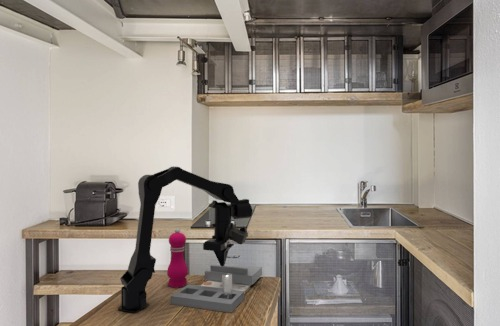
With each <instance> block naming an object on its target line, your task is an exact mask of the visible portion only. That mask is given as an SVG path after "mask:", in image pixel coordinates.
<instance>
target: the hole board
mask: <svg viewBox="0 0 500 326" xmlns="http://www.w3.org/2000/svg"><path fill="white" fill-rule="evenodd" d="M244 300H245V292H244V291H239V290H232V299H223V298H222V288H215V287H207V286H201V285H197V284H189V283H188V284H186V285H185V286H183V287H181V288H180V289H179V290H177V291H175V292H174V293H173V294H171V295H170V305H174V306H180V307H182V306H183V307H189V308H195V309H203V310H208V311H215V312H222V313H230V314H231V313H232V312H233V311H234V310H235V309H236V308H237V307H238V306H239V305H241V303H242V302H243V301H244Z"/></svg>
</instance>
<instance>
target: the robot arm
mask: <svg viewBox="0 0 500 326" xmlns="http://www.w3.org/2000/svg"><path fill="white" fill-rule="evenodd" d="M174 181H178V182H180V183H183V184H185V185H189V186H191V187H194V188H196V189H198V190H201V191H203V192H205V193H206V194H207V195H209V196H210V197H213V198H214V199H215V200H212V202H211V203H210V204H209V205H208V208H211V209H214V222H213V223H212V225H211V227H212V228H214V235H213V234H212V236H211V238H210V239H207V240H205V241H204V242H203V244H202V247H203V248H202V250H203V251H211V252H213V253H214V255H215V257H216V259H217V260H218V263H220V265H221V266H224V265H225V263H226V261H227V257H228V254H229V251H230V249H231V248H232V247H233V246H234V245H235V244H234V243H231V240H232V241H233V242H235V243H236V244H238V245H242V244H245V243H246V241H247V238H248V237H249V232H248V228H247V227H245V226H242V227H240V229H239V227H238V228H236V227H235V224H234V222H232V218H233V219H234V220H242V219H243V220H244V219H250V218H251V217H252V215H253V207H252V205H251V204H250V199H248V198H244V199H239V197H238V196H237V195H236V194H235V190H234V187H233V185H231V184H229V183H223V182H218V181H212V180H210V179H207V178H205V177H203V176H200V175H197V174H195V173H193V172H191V171H187V170H186V169H183V168H182V167H179V166H174V165H173V166H170V167H168V168H166V169H164V170H160V171H158V172H156V173H154V174H144V175H143V176H141V177H140V178H139V180H138V182H137V186H138V187H137V189H138V198H139V202H140V207H139V214H138V224H137V232H136V241H135V246H134V247H135V248H134V251H133V252H132V255H131V257H130V260H129V263H128V266H127V270H126V271H125V273H123V275H121V277H120V282H121V284H122V286H121V290H120V291H121V293H120V294H121V296H120V298H121V299H120V301H121V303H120V304H121V306H119V307H118V308H117V310H118V311H122V312H128V313H134V314H135V313H138V312H139V311H141V310H143V309H144V308H146V307H148V306H149V302H147V291H146V287H147V285H148V282H149V281H150V280H151V279H152V277H153V274H155V273H156V271H155V265H156V262H157V259H156V258H155V257H154V256H153V255H151V247H152V236H153V227H154V222H155V221H154V220H155V219H154V218H155V212H156V211H155V210H156V205H157V204H158V203H157V202H158V201H159V199H160V196H161V193H162V189H163V188H164V187H166V186H168V185H171V184H172V183H173V182H174ZM217 200H218V201H219V202H218V201H217ZM227 203H229V204H227Z"/></svg>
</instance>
